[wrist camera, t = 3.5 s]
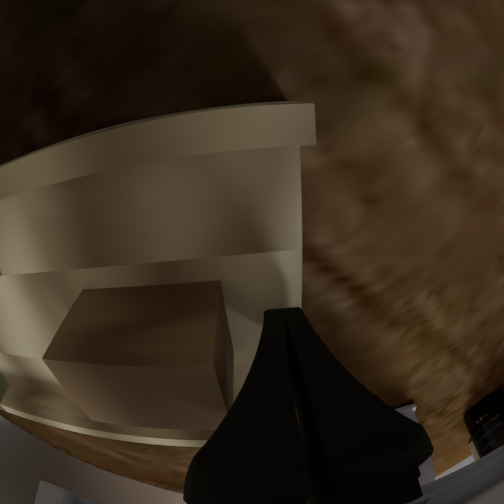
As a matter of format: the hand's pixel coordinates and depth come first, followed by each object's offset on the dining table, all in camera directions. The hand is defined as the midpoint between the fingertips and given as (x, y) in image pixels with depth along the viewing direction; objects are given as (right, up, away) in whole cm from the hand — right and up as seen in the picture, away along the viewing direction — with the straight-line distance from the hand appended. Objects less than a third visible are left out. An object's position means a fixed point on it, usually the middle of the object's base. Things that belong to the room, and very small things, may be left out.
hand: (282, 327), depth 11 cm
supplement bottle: (+28, -16, +13) cm, 35 cm away
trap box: (-10, 0, +2) cm, 11 cm away
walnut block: (-5, 0, +1) cm, 5 cm away
